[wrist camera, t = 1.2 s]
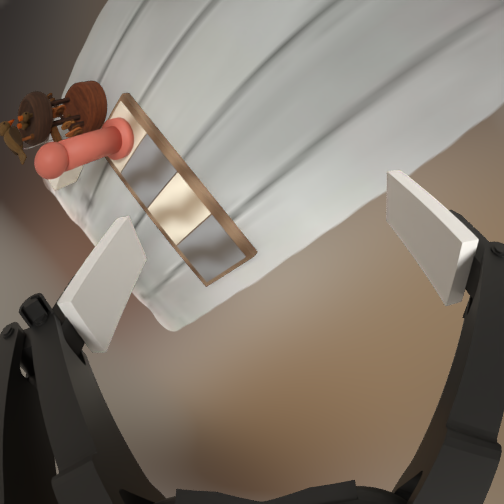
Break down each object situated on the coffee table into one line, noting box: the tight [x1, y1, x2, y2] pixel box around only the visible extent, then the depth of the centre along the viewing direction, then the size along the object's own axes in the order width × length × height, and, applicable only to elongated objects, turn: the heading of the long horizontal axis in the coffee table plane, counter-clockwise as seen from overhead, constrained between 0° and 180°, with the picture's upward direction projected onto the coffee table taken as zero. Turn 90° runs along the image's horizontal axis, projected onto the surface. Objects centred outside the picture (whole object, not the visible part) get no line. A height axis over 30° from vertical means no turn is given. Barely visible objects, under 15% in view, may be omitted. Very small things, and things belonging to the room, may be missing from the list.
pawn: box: [35, 117, 134, 179], centre depth 36 cm, size 7×7×16 cm
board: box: [105, 93, 257, 287], centre depth 45 cm, size 33×12×2 cm, turn 42°
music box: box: [0, 81, 107, 165], centre depth 37 cm, size 15×11×20 cm
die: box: [48, 165, 83, 191], centre depth 51 cm, size 6×6×6 cm
